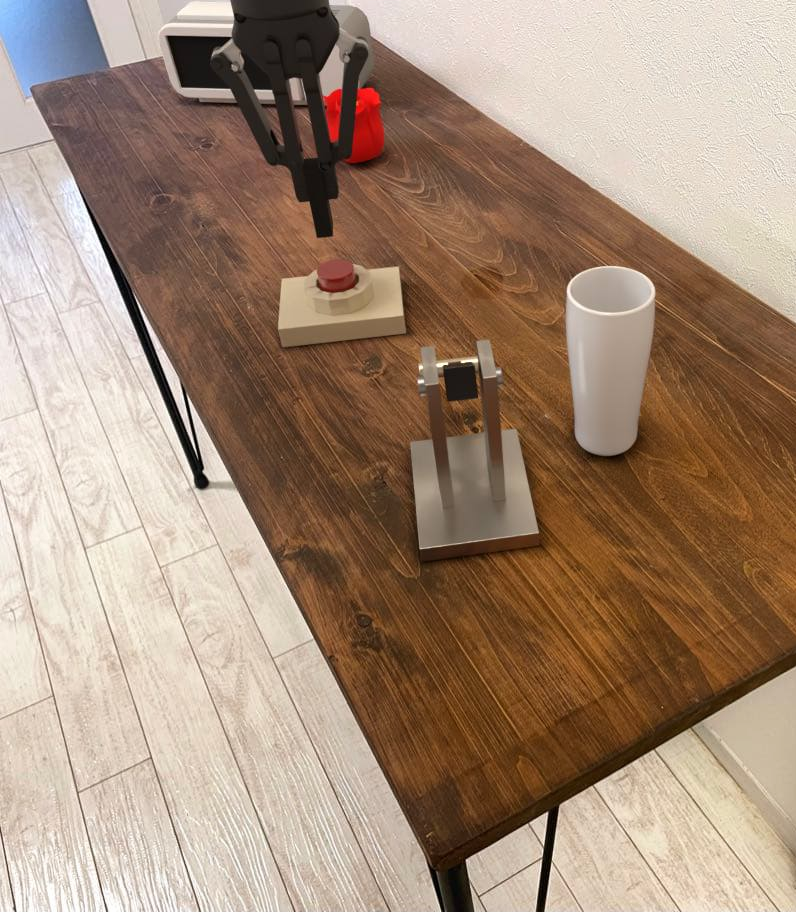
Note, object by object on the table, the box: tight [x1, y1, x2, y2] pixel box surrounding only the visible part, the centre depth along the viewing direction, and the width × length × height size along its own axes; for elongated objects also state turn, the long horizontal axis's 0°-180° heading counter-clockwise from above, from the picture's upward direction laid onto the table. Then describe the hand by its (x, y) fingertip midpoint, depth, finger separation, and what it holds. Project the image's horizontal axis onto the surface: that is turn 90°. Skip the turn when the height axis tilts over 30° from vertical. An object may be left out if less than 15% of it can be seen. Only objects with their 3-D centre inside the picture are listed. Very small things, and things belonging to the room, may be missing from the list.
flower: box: [323, 87, 385, 164], centre depth 116 cm, size 8×8×8 cm
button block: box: [277, 263, 407, 348], centre depth 92 cm, size 12×9×4 cm
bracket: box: [409, 338, 541, 563], centre depth 69 cm, size 12×9×14 cm
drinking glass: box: [565, 265, 656, 457], centre depth 74 cm, size 7×7×15 cm
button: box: [316, 258, 357, 293], centre depth 90 cm, size 4×4×2 cm
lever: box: [417, 355, 479, 403], centre depth 71 cm, size 14×6×2 cm
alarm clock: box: [157, 0, 376, 107], centre depth 130 cm, size 27×9×12 cm, turn 83°
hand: (325, 229), depth 87 cm, fingers closed
